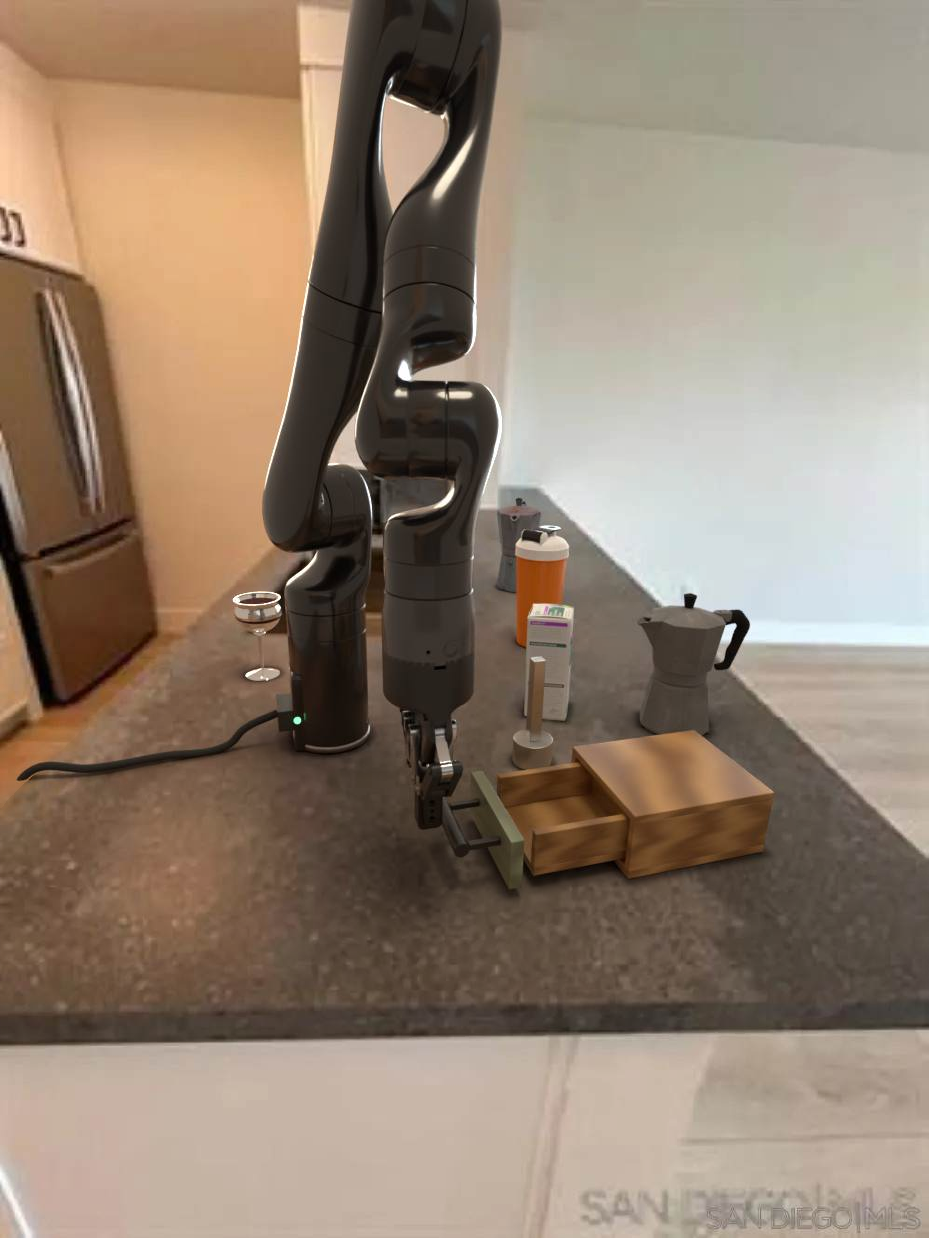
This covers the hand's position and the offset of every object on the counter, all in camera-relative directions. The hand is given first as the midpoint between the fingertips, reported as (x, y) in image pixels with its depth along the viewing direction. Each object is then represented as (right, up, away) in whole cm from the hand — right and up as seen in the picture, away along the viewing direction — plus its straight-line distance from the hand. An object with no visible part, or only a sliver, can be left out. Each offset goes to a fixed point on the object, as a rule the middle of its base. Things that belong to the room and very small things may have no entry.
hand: (428, 823), depth 60 cm
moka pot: (+15, +25, +91) cm, 96 cm away
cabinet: (+23, -3, +8) cm, 25 cm away
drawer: (+10, -3, +4) cm, 11 cm away
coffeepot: (+32, +4, +30) cm, 44 cm away
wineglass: (-27, +10, +42) cm, 51 cm away
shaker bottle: (+16, +14, +58) cm, 61 cm away
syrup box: (+14, +6, +33) cm, 36 cm away
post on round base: (+11, +1, +20) cm, 23 cm away
